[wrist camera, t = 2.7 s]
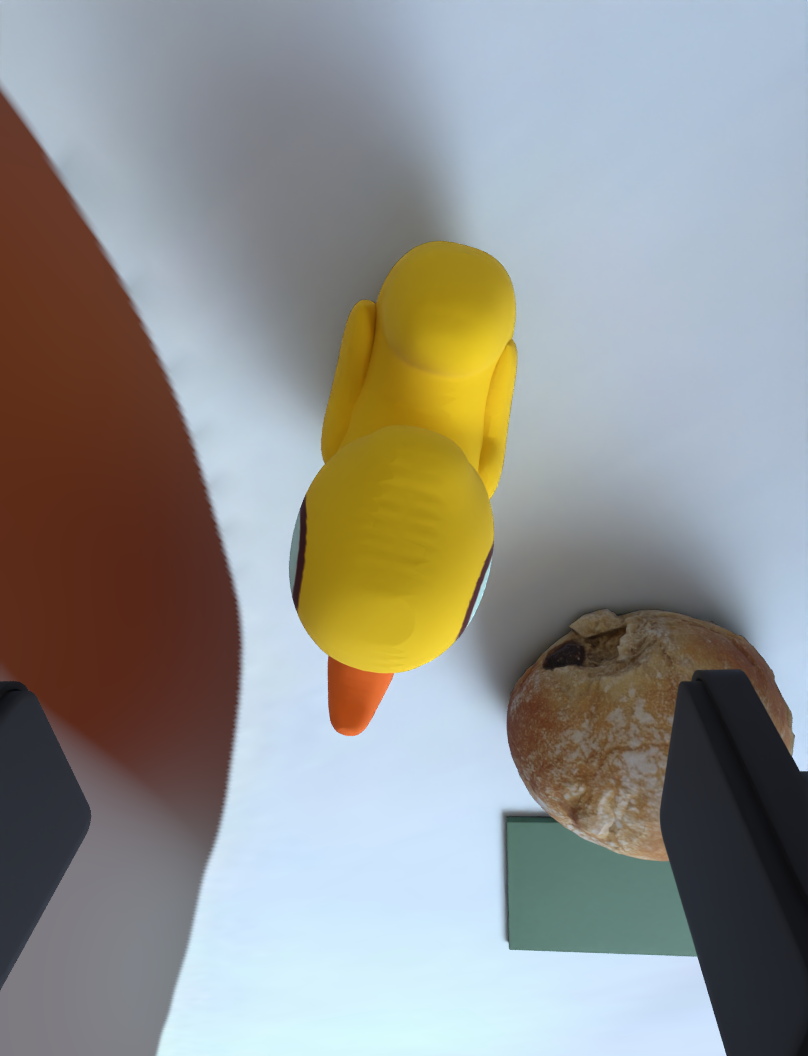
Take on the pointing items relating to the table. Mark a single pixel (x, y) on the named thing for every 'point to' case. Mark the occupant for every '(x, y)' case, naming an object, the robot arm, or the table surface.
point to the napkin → (588, 896)
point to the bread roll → (619, 719)
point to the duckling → (407, 474)
